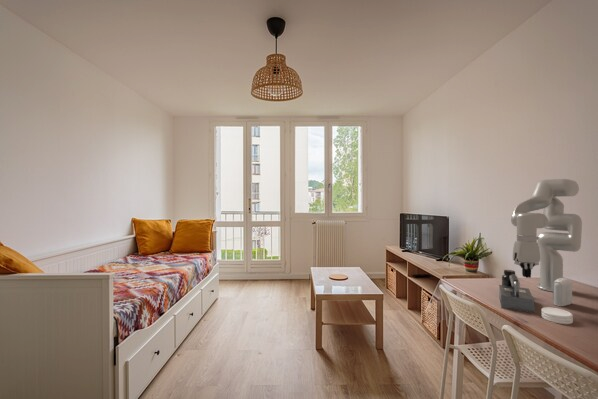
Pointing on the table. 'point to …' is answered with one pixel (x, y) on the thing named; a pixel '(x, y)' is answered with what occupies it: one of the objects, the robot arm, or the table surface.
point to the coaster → (557, 315)
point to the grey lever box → (516, 298)
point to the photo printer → (562, 292)
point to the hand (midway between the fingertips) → (526, 276)
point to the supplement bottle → (507, 277)
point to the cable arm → (514, 279)
